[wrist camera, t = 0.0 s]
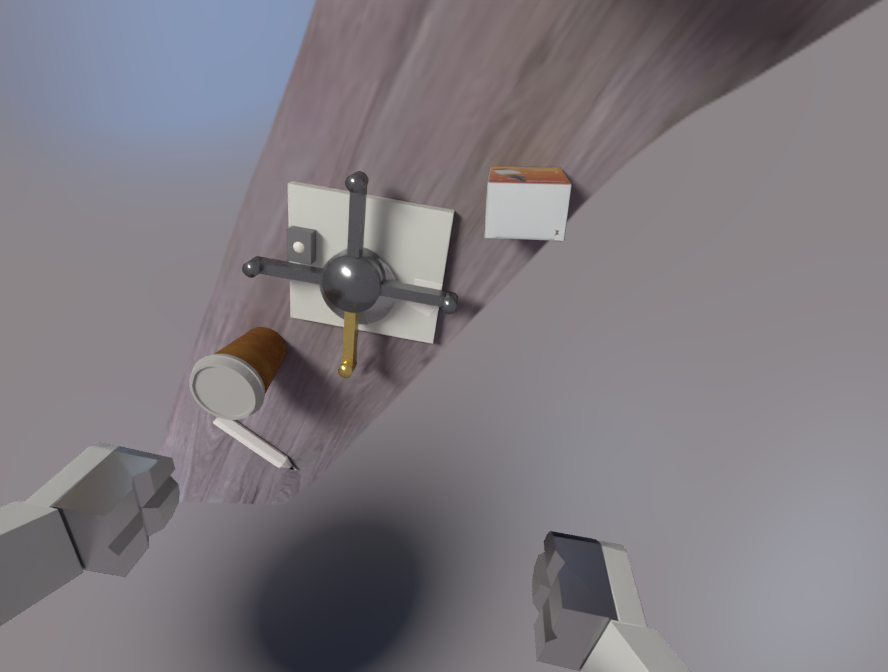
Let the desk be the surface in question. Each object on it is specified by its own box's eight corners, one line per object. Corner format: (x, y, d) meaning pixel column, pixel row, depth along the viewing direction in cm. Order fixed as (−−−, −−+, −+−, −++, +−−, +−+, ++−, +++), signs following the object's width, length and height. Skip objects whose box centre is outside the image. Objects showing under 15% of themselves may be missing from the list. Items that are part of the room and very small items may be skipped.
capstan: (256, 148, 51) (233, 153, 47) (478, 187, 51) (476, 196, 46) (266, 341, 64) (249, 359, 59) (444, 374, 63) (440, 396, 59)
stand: (292, 181, 54) (280, 186, 51) (454, 210, 54) (451, 217, 51) (295, 312, 63) (284, 324, 60) (434, 338, 63) (430, 351, 60)
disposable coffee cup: (299, 376, 69) (263, 427, 58) (239, 368, 69) (192, 417, 59) (295, 321, 64) (254, 366, 53) (230, 312, 64) (178, 355, 54)
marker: (300, 464, 79) (222, 411, 75) (303, 463, 77) (223, 409, 73) (291, 477, 78) (210, 424, 74) (294, 477, 76) (212, 423, 72)
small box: (561, 166, 50) (574, 183, 41) (554, 216, 53) (566, 242, 44) (489, 164, 51) (487, 180, 42) (487, 214, 54) (484, 239, 45)
